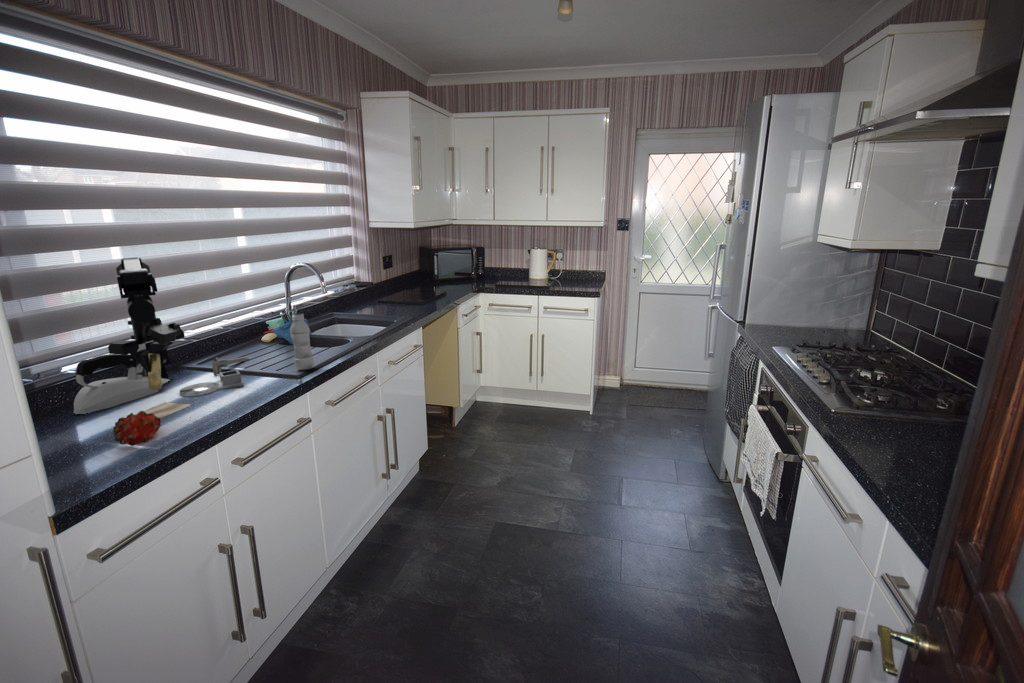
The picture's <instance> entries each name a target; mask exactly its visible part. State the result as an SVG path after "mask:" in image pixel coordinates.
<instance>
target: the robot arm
mask: <svg viewBox="0 0 1024 683" xmlns="http://www.w3.org/2000/svg"><path fill="white" fill-rule="evenodd" d="M115 271H116V279H117V283H118V284H117V286H118V290H119V294H120V295H119V296H120V299H126V304H127V313H128V316H129V317H130V318H129V319H130V320H127V325H129V326H132V331H133V335H130V338H131V340H130V339H128V340H126V339H125V340H124V339H122V340H118V341H114V342H110V343H109V345H108V346H107V350H108V353H109V354H118V355H126V354H129V355H132V356H133V357H134V358H135V359H136V360H137V365H138V364H139V363H140V365H141V366H142V367H143V370H142V372H143V375H144V376H143V377H148V372H151V366H150V361H149V356H148V353H160V360H161V378H164V379H169V380H171V381H173V380H174V379H173V378H172V377H171V378H170V377H169V373H168V369H167V365H170V363H172V362H171V357H170V351H169V350H168V348H169V347H170V346H171V345H173V344H174V342H176V341H178V340H181V339H185V338H186V336H185V333H184V332H185V331H184V330H182V329H181V325H180V323H178V322H177V321H174V322H170V323H169V324H163V323H162V320H161V318H160V317H157V316H156V308H155V305H154V302H153V297H151V296H156V295H157V294H156V292H157V293H158V286H157V283H156V278H155V276H154V275H153V273H151V269H150V266H149V265H148V264H147V263H144V262H143V261H142V258H141V257H138V256H136V257H135V256H134V257H123V258H121V259H120V264H119V265H118V266H117V267H116V268H115Z"/></svg>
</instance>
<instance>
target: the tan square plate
mask: <svg viewBox="0 0 1024 683" xmlns="http://www.w3.org/2000/svg"><path fill="white" fill-rule="evenodd" d="M190 406H191V404H188V403H178V402H177V403H174V402H165V401H164V402H163V403H160V404H158V405H155V406H153V407H150V408H147V409H145V410H143V411H144V412H146V414H151V413H153V414H154V415H155V416H156V417H157V418H159V419H163V418H165V417H167V416H170V415H171V414H175V413H176V412H178V411H179V412H180V411H181V410H183V409H185V408H188V407H190ZM137 414H138V413H136V414H135V413H134V415H137Z"/></svg>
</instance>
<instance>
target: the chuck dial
mask: <svg viewBox="0 0 1024 683" xmlns="http://www.w3.org/2000/svg"><path fill="white" fill-rule="evenodd" d="M218 375H219V379H220V381H216V382H214V381H208V382H199V383H194V384H191V385H187V386H185V387H183V388H181V389H180V390H179V396H181V397H189V398H192V397H200V396H204V395H208V394H211V393H214V392H216V391H218V390H223V389H224V390H225V389H227V388H228V389H229V388H230V389H233V388H238V387H243V386H244V382H243V380H242V375H241V372H240V370H239V369H232V370H228V371H221V373H219V374H218Z"/></svg>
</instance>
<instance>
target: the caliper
mask: <svg viewBox="0 0 1024 683" xmlns="http://www.w3.org/2000/svg"><path fill="white" fill-rule="evenodd" d="M248 360H250V357H248V356H243V357H237V358H231V359H227V358H226V359H225V358H224V359H219V357H214V358H213V361H212V365H211V366H212V372H213V375H214V376H218V375H220V374H219V373H222V368H226V367H227V368H228V365H231V364H236V363H241V362H246V361H248Z"/></svg>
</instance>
